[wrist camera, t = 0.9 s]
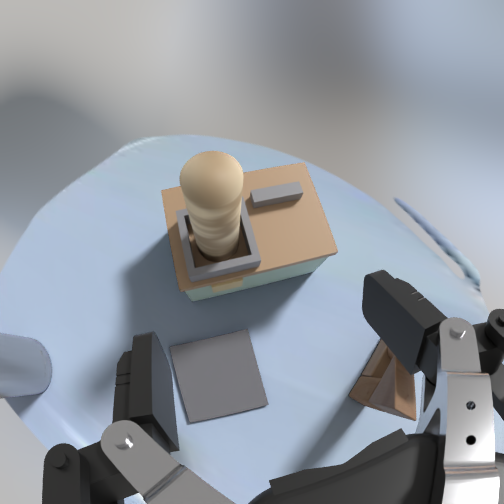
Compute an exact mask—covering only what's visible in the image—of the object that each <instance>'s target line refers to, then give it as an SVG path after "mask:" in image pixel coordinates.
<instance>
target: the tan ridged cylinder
mask: <svg viewBox="0 0 504 504" xmlns="http://www.w3.org/2000/svg"><path fill="white" fill-rule="evenodd" d="M180 185H181V189H182V193H183V196H184V200H185V204H186V208H187V211H188V215H189V218H190V222H191V226H192V229H193V233H194V236H195V240H196V243H197V247H198V250H199V252H200V254H201V255H202V256H203V257H204V258H205V259H207V260H209V261H211V262H223V261H226V260H228V259H230V258H231V257H232V256H233V255H234V254H235V252H236V250H237V248H238V239H239V226H240V213H241V201H242V189H243V170H242V168H241V166H240V164H239V163H238V161H237V160H236V159H235V158H233V157H232V156H230V155H228V154H226V153H223V152H219V151H207V152H203V153H200V154H197V155H195V156H193V157H192V158H191V159H189V160H188V161H187V162H186V163H185V165H184V166H183V168H182V170H181V173H180Z"/></svg>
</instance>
